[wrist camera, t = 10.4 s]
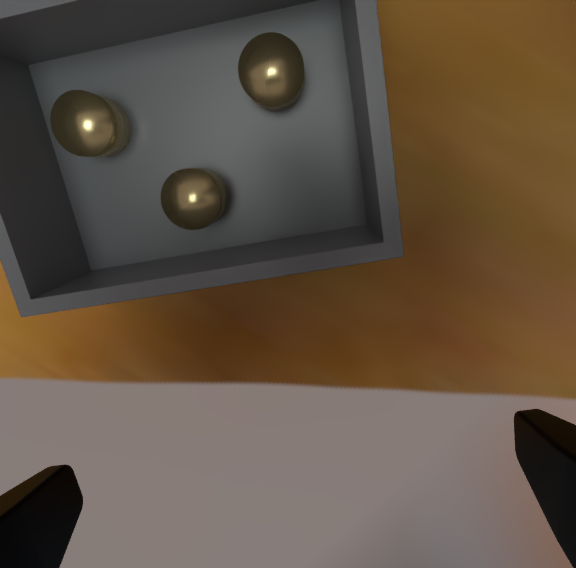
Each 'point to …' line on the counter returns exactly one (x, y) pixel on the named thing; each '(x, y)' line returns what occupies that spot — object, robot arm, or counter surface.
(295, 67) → the brass parts
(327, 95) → the tub
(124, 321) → the counter surface
